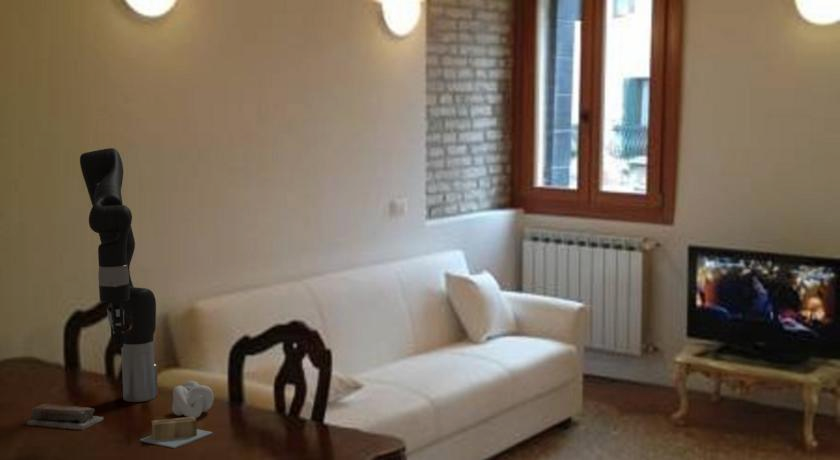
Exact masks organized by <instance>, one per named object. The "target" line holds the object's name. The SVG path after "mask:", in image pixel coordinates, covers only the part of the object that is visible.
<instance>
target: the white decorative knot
mask: <svg viewBox="0 0 840 460" xmlns="http://www.w3.org/2000/svg"><path fill="white" fill-rule="evenodd" d="M172 398H173V401H172V407H171V408H172V413H174V414H175V416H178V417H180V416H184V417H194V416H195V419H198V418H200V416H201V414H202V413H205V412H206V411H208V410H209V409H210V408H211V407H212V406H213V403H214V400H215V395H214V392H213V390H212V389H211V388H210V387H209V386H208V385H205V384H204V385H203V384H199V383H198V382H197V381H195V380H188V381H186V382H184V383H183V384H182V385H176V386H175V387H174V388H173V390H172Z"/></svg>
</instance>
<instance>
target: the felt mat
mask: <svg viewBox="0 0 840 460" xmlns="http://www.w3.org/2000/svg"><path fill="white" fill-rule="evenodd" d="M211 435H214V433H213V431H208V430H204V429H199V428H197V436H188V437H179V438H169V439H160V440H153V437H152V434H151V435H149V436H146V437H143V438H141V439H140V440H139V441H140V442H143V443H148V444H154V445H156V446H157V445H158V446H160V447H161V446H162V447H167V448H170V449H176V448H179V447H182V446H184V445H188V444H190V443H192V442H195V441H198V440H200V439H203V438H205V437H209V436H211Z"/></svg>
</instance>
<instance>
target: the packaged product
mask: <svg viewBox="0 0 840 460" xmlns="http://www.w3.org/2000/svg"><path fill="white" fill-rule="evenodd" d="M95 411H96V410H95V408H92V407H86V406H85V407H84V406H76V405H75V406H74V405H66V404H65V405H64V404H55V403H54V404H53V403H41V404H39V405H37V406H35V407H33V408H31V409H30V414H31V415H30V419H27V422H26V425H27V426H35V425H37V426H36V427H45V426H46V428H55V427H57V428H56V429H59V428H60V429H66V428H68V429H69V430H85V429H87V428H89V427H91V426H93V425H96V424H98V423H99V422H102V421H103V420H104V416H98V415H94V413H95Z"/></svg>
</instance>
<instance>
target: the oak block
mask: <svg viewBox="0 0 840 460" xmlns="http://www.w3.org/2000/svg"><path fill="white" fill-rule="evenodd" d="M197 429H198V428H197V418H195V416H194V417H186V416H184V417H176V418H165V419H164V418H163V419H155V420H151V435H152V437H153V440H160V439H169V438H179V437H188V436H197Z"/></svg>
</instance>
